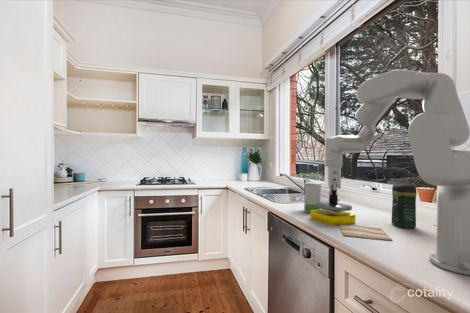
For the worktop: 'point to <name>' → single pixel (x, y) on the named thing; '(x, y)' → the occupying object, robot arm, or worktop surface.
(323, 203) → the lid
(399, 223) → the coffee jar
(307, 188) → the skincare box
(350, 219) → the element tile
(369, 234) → the mat
